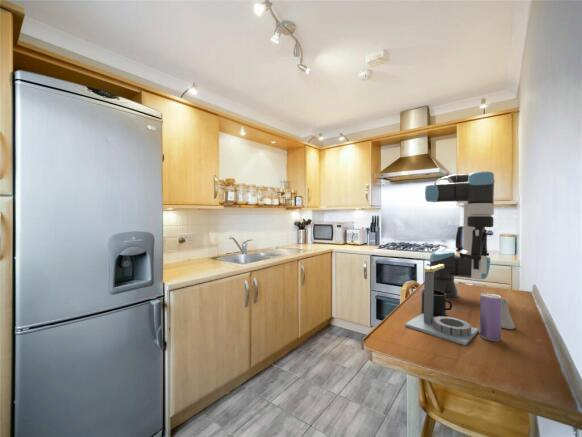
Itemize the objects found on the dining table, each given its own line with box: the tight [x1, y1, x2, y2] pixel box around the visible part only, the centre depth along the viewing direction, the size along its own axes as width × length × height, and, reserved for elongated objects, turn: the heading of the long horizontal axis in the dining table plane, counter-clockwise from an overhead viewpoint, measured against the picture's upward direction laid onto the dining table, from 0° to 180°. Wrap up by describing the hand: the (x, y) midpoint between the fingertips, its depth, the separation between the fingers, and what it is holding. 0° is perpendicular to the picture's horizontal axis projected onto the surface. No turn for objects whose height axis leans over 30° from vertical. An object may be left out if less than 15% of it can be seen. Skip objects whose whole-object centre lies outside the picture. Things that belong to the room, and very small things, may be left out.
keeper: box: [423, 264, 445, 273], centre depth 106 cm, size 4×16×1 cm, turn 132°
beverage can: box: [479, 292, 502, 342], centre depth 92 cm, size 6×6×15 cm
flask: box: [501, 298, 516, 330], centre depth 103 cm, size 7×7×10 cm
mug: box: [420, 289, 453, 317], centre depth 115 cm, size 9×12×9 cm
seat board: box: [404, 272, 480, 346], centre depth 99 cm, size 16×20×20 cm
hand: (479, 275), depth 93 cm, fingers open, 13 cm apart
